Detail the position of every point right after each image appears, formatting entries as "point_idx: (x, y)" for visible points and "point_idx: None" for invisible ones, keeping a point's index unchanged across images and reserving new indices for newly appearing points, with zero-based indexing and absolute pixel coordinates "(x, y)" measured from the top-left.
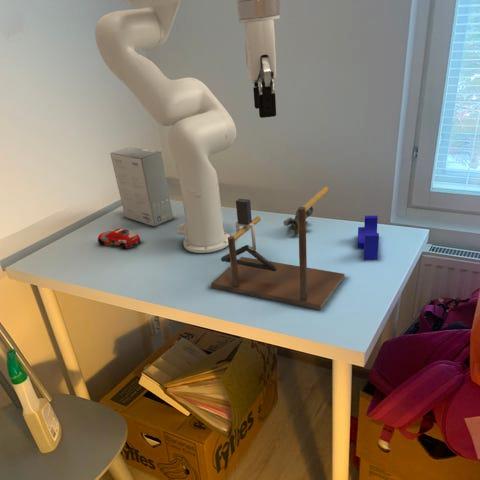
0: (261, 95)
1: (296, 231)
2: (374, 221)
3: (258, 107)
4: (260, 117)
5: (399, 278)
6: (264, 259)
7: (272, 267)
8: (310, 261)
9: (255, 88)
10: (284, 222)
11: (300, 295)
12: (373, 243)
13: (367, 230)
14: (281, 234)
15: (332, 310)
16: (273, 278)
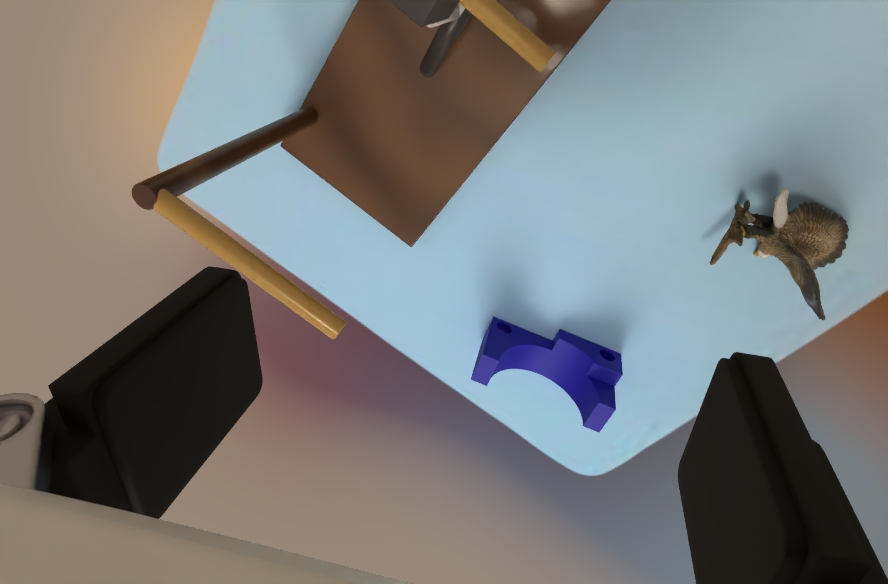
0: (62, 414)
1: (734, 217)
2: (586, 413)
3: (712, 382)
4: (213, 268)
5: (387, 339)
6: (435, 42)
7: (422, 63)
8: (534, 196)
9: (781, 559)
10: (780, 193)
11: (303, 109)
12: (478, 357)
13: (583, 382)
14: (787, 166)
15: (284, 167)
16: None
